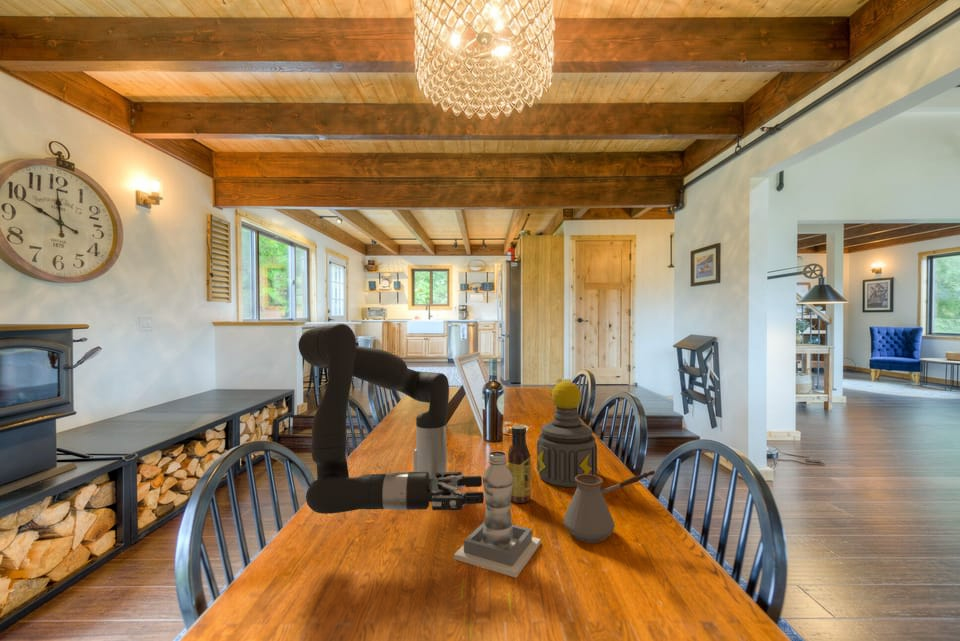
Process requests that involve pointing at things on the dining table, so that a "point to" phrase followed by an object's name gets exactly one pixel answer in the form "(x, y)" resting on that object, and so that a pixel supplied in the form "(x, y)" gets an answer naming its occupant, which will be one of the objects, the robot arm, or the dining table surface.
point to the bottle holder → (499, 551)
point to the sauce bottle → (519, 465)
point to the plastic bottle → (498, 502)
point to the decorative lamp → (566, 441)
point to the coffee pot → (593, 508)
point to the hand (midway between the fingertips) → (482, 488)
